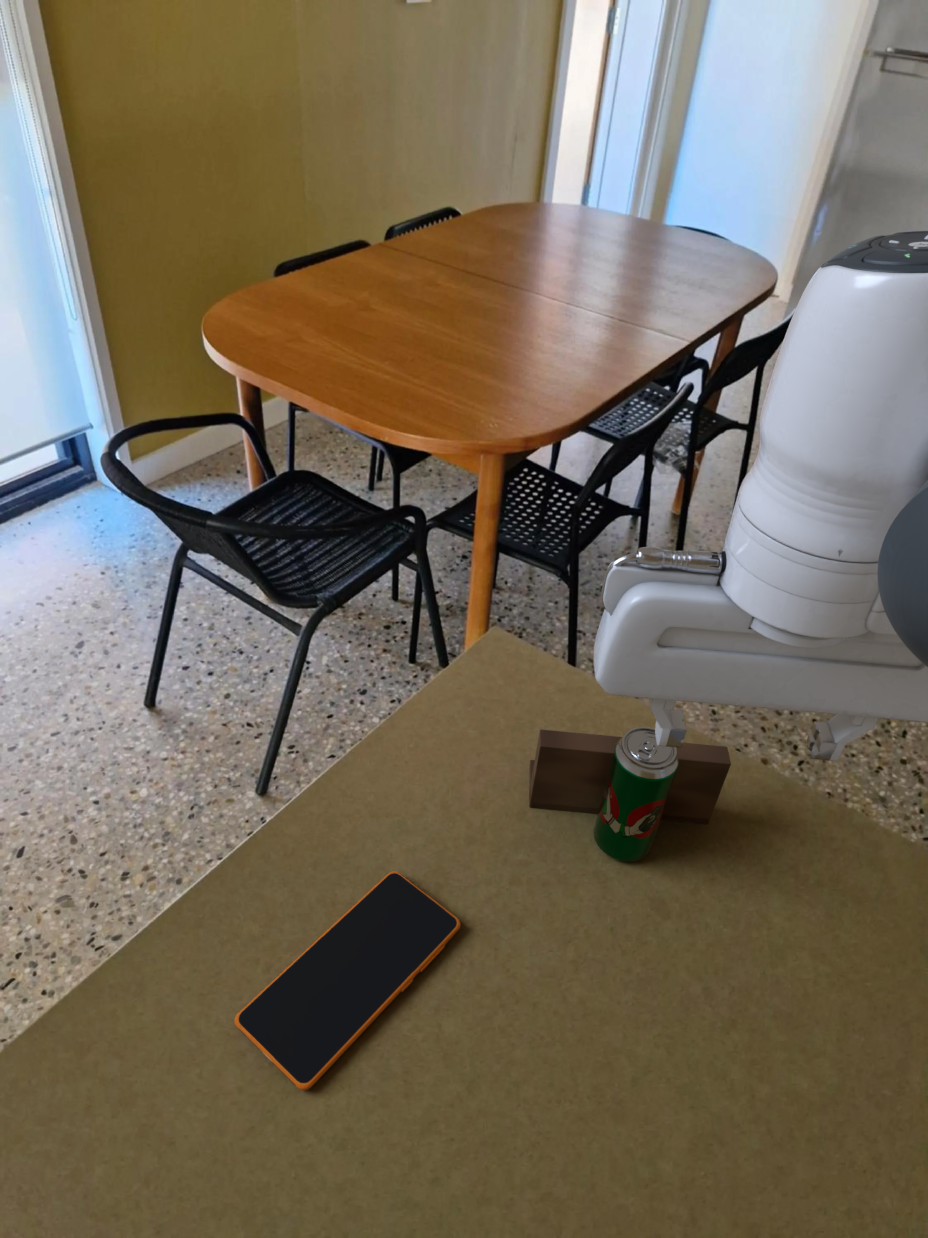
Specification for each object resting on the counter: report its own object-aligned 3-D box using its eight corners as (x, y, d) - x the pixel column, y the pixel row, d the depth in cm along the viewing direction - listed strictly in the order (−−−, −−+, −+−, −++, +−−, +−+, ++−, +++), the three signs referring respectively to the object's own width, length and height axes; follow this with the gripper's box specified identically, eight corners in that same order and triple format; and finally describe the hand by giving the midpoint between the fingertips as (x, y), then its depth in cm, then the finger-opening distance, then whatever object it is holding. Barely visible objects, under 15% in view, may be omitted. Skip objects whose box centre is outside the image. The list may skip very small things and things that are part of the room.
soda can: (659, 834, 78) (690, 740, 70) (637, 875, 74) (668, 781, 67) (606, 808, 80) (631, 714, 72) (583, 847, 76) (606, 752, 68)
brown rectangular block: (700, 781, 83) (721, 721, 78) (708, 824, 79) (731, 764, 74) (529, 765, 83) (539, 704, 78) (529, 807, 79) (540, 746, 74)
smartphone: (231, 1024, 62) (229, 1018, 62) (393, 873, 73) (393, 867, 72) (305, 1098, 59) (304, 1093, 58) (464, 928, 69) (465, 922, 69)
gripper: (613, 580, 44) (577, 769, 52) (1031, 614, 43) (925, 800, 52) (606, 513, 49) (574, 697, 57) (980, 544, 48) (892, 724, 57)
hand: (743, 746), depth 55 cm, fingers open, 8 cm apart
